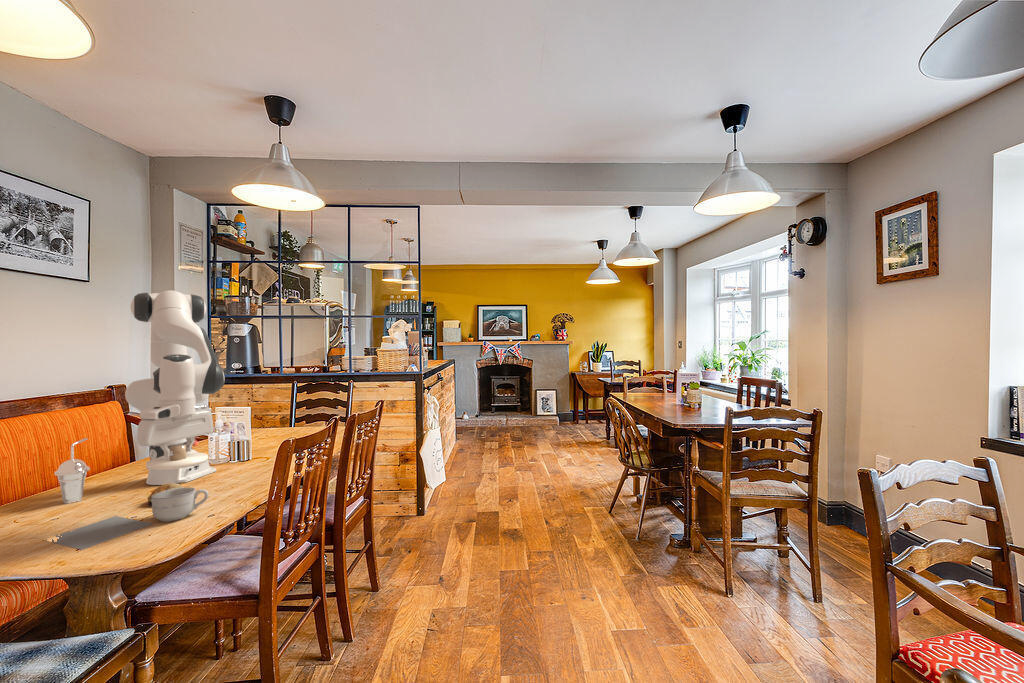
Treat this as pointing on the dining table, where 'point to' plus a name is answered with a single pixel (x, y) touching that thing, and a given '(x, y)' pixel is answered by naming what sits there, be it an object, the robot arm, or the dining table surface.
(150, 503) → the bread roll
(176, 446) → the lid
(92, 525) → the mat
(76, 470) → the cup with straw
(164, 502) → the teacup
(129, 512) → the dining table surface
